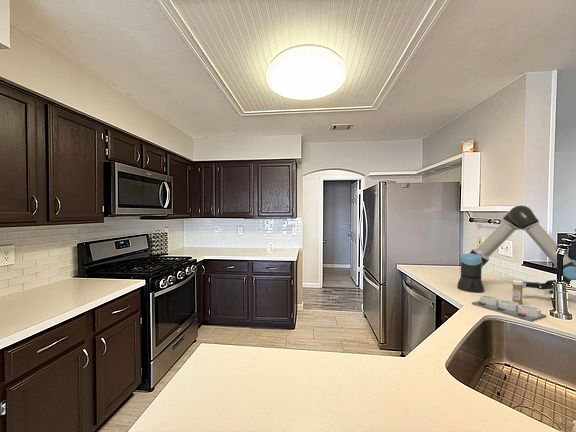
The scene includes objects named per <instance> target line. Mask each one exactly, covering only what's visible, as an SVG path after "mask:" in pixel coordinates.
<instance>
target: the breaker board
mask: <svg viewBox="0 0 576 432" xmlns="http://www.w3.org/2000/svg"><path fill="white" fill-rule="evenodd" d="M479 298H480V299H479V300H477V301H474V302H473V301H472V302H471V305H472V306H476V307H480V308H484V309H487V310H490V311H493V312H497V313H500V314H503V315H507V316H510V317H514V318H517V319H520V320H523V321H527V322H531V323H532V322H534V321H535V322H536V321H539V320H541V319H544V318H547V314H544V313H542V309H541V308H539V307H536V306H532V305H528V304H527V305H526V304H522V305H519V304H518V303H517V302H513V301H512V300H509V299H508V300H507V299H500V298H499V297H497V296H494V295H493V296H492V295H487V294H486V295H485V294H483V295H480V296H479Z"/></svg>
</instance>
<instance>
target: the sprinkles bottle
mask: <svg viewBox="0 0 576 432" xmlns="http://www.w3.org/2000/svg"><path fill="white" fill-rule="evenodd" d="M523 282H524V281H521V280H515V279H514V280H512V293H511V294H512V295H511V296H512V298H511V299H512V300H511V301H513V302H517V303H518V304H519V305H523V299H524V298H523V296H524V294H523V290H524V288H523Z"/></svg>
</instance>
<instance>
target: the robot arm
mask: <svg viewBox="0 0 576 432" xmlns="http://www.w3.org/2000/svg"><path fill="white" fill-rule="evenodd" d="M517 230H518V231H519V230H522V231H525V233H526V234H527V235H528V236H529V237H530V238H531V240H533V242H534V243H535V244H536V245H537V246H538V248H540V250H541V251H542V252H543V253H544V255H545V256H546V257H547V259H549V260H550V262H552V264H553V265H554V266H555V267H556V268H557V255H556V249H557V246H559V245H558V244H557V243H556V242H555V240H554V239H553V238H552V237H551V236H550V235H549V233H548V232H547V231H546V230H545V229H544V228H543V227H542V226H541V224H540V220H539V219H538V218H537V217H536V215H535V214H534V212H533V210H532V209H531V208H530V207H529V206H526V205H517V206H514V207H512V208H511V209H510V210H509V211H508V213H506V215H504V216H503V218H502V223H500V224H499V225H498V227H497V228H496V229H494V231H492V232H491V234H489V236H488V237H487V238H485V240H484V241H482V242H481V244H480V245H479V246H478V247H477V248H472V249H471V251H469V253H463V254H462V255H461V257H460V277H459V280H458V283H457V285H456V287H457V289H459V290H461V291H465V292H469V293H484V292H485V286H484V284H483V281H482V271H483V269H482V268H483V267H484V266H485V265H486V264H488V263H489V261H490V257H491V255H493V254H494V252H495V251H497V250H498V249H499V247H501V245H503V244H504V243H505V241H506V240H508V239H509V238H510V237H511V236H512V235H513V234H514V233H515V232H516V231H517ZM556 280H557V279H551V280H546V281H545V282H542V283H541V282H538V281H537V282H535V281H534V282H533V281H522V282H523V289H526V288H532V289H538V290H543V295H544V296H546V295H547V296H549V295H554V294H553V285H552V284H553V282H556ZM571 280H576V260H575V259H571V258H570V257H569V256H568V255H567V254H566V253H565V255H564V257H563V280H562V282H564V283H566V284H567V286H570V285H569V284H570V281H571ZM571 287H572V286H571ZM566 293H569V292H568V291H567V292H566Z"/></svg>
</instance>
